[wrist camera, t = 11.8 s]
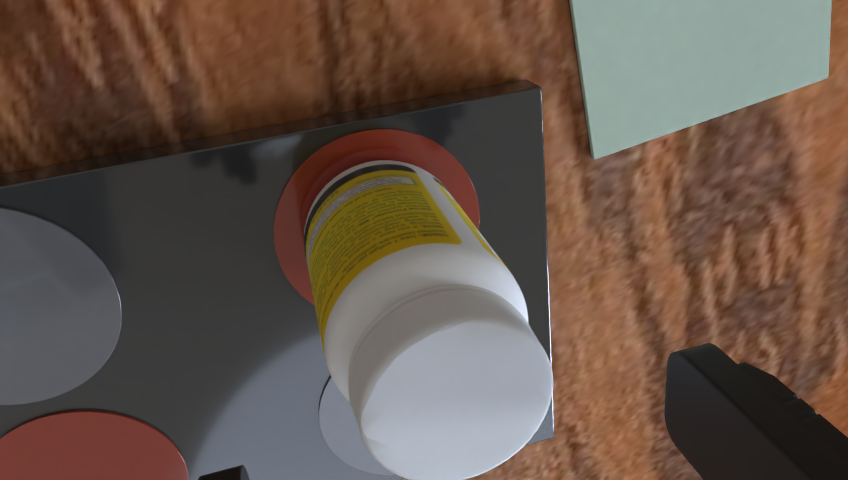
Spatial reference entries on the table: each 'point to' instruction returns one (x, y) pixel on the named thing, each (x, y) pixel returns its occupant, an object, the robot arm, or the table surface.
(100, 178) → the hob
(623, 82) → the cloth
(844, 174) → the table surface
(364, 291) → the supplement bottle
